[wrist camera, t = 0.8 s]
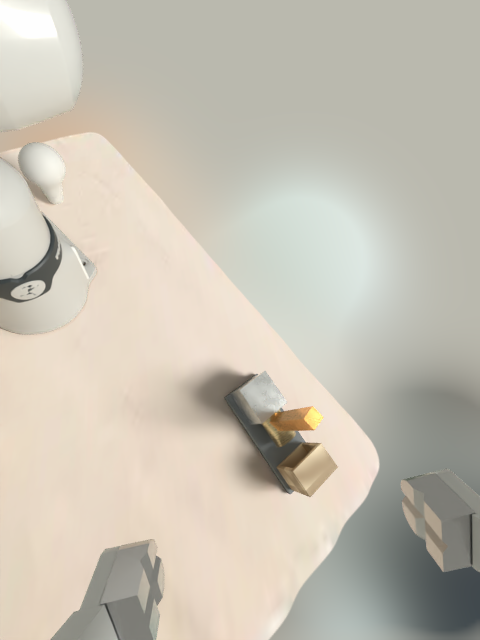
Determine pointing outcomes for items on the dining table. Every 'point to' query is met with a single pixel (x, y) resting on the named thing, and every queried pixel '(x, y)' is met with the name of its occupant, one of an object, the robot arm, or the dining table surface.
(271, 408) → the matte gray cube
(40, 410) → the dining table surface
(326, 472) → the socket block
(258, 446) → the slate board
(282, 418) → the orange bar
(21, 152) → the lightbulb
